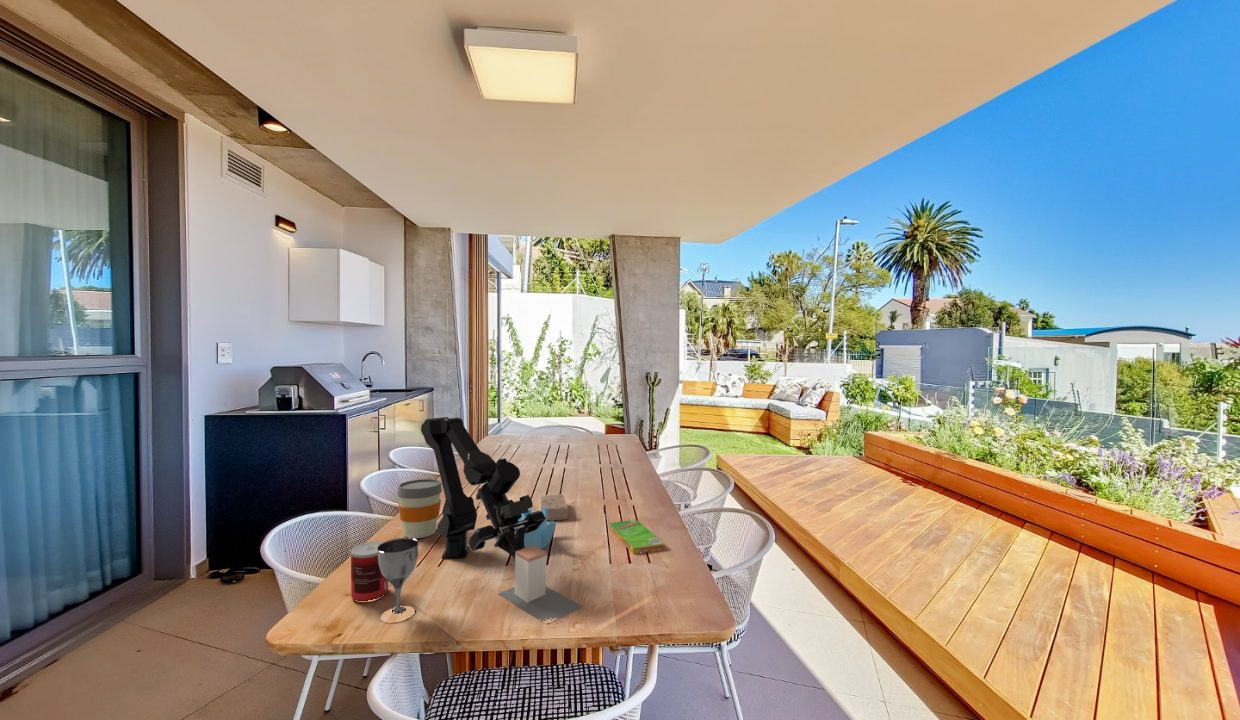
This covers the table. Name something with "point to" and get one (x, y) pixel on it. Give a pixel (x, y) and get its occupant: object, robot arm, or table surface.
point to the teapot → (539, 532)
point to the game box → (635, 536)
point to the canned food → (366, 573)
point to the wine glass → (397, 564)
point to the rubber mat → (544, 604)
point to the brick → (555, 507)
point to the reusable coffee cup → (419, 506)
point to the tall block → (530, 573)
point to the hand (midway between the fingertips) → (523, 561)
